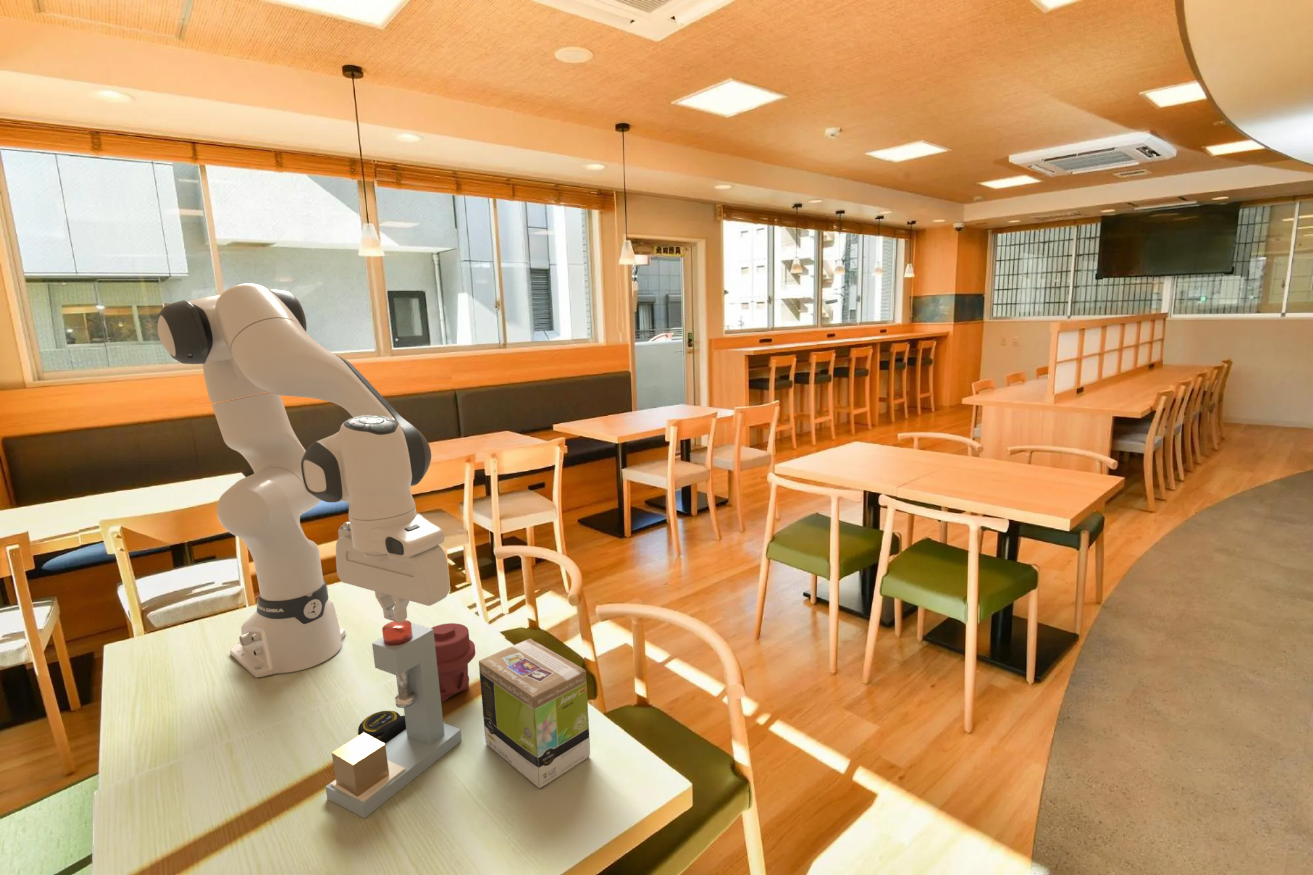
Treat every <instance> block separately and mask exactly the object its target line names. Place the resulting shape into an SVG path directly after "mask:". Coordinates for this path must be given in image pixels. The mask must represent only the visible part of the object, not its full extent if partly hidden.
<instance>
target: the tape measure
mask: <svg viewBox="0 0 1313 875" xmlns="http://www.w3.org/2000/svg"><path fill="white" fill-rule="evenodd" d="M404 730H406V722H405V714H403V715H400V714H399V713H398V712H397V711H393V710H381V711H377V712H374V713H372V714H370V715H368V716H367V717H366V718H365V719H364V720H362V721H361V723H360V724H359V726H358V729H357V736H359V735H361V734H362V733H366V734H368V735H370V736H372V737H373V738H375V739H377V740H379V741H381V742H383V743H385V744H386V743H387V742H389V741H390V740H392V739H393V738H394V737H396V736H397V735H399V734H400V733H401V732H403V731H404Z"/></svg>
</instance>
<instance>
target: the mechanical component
mask: <svg viewBox="0 0 1313 875" xmlns="http://www.w3.org/2000/svg"><path fill="white" fill-rule="evenodd" d="M430 628H431V629H433V631H434V640H435V650H436V659H437V668H438V678H439V687H440V696H441V703H444V702H446V701H447V700H448V699H449V698H451V697H452V696H454V695H456V694H458V693H460V692H463V691H466V690H468V689H469V688H470V685H469V684H470V683H469V682H470V676H469V663H470V662H471V661H472V660H473V659H474V658H475V656H476V644H475V642H474V641H472V640H471V639H470V630H469V629H468V627H467V626H466V625H464V624H461V623H455V622H454V623H449V622H448V623H442V624H437V625H434V626H432V627H430Z"/></svg>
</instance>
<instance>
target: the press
mask: <svg viewBox="0 0 1313 875" xmlns="http://www.w3.org/2000/svg"><path fill="white" fill-rule="evenodd" d="M411 626H412V635H413V637H412V639H411V640H410V641H408V642H406V643H404V644H401V645H396V646H389V645H386V644H384V640H383V636H382V637H380V638H379V639H377V640H375V641H373V642H372V643H371V644H372V645H371V646H372V647H371V648H372V654H373V660H374V668H375V669H378V670H379V671H382V672H385V673H388V674H392V675H394V676H395V677H396V676H400V675H401V674H403V673H405V672H406V671H408V670H409V678H410V687H411V691H413V692H414V693H415V699H416V701H415V703H414V704H413V705H411V706H409V707H406V708H403V712H404V713H403V715H404V716H405V722H406V730H404V731H403V732H401V733H400V734H399V735H397V736H396V737H394V738H393V739H392V740H390V741H389V742H387V743H386V744H385V745H386V753H387V761H388V769H389V775H388V776H386V777H385V778H384V779H382V780H381V781H379V782H378V783H377V784H375V785H374V786H372V787H371V788H369V789H368V790H367V791H365V792H364V793H362V794H361V795H359V796H358V797H357V796H355V795H354V794H352V793H350V792H349V791H347V790H346V789H344V788H343V787H341V786H339V785H338V784H336V779H333V781H331V782H330V783H328V784H326V786H325V787H324V788H325V791H326V792H325V793H326V798H327V799H328V801H331V802H332V803H335V804H336V805H338V806H340V807H342V808H344V809H345V810H348V811H349V812H352V813H353V814H355V815H357V816H359V817H361V818H363V819H366V818H367V817H368V816H370V815H371V814H372V813H374V811H376V810H377V809H378V808H380V807H381V806H382V805H384V804H385V803H386V802H387V801H388V800H390V799H391V798H392V797H394V796H395V795H396V794H397V793H398V792H400V791H401V790H402V789H404V788H405V787H406V786H407V785H409V783H411V782H412V781H413V780H415V779H416V778H417V777H418V776H420V775H421V774H422V773H423V772H425V771H426V770H427V769H429V768H430V767H431V766H432V765H433V764H434V763H436V762H437V761H438V760H440V759H441V758H442V757H444V756H445V755H446V754H447V753H448V752H450V751H451V750H452V749H454V748H455V747H456V746H457V745H459V743H461V742H462V741H463V738H462V736H463V735H462V730H461V728H458V727H455V726H454V725H451V724H448V723H446V722H444V718H443V717H444V715H443V707H442V702H441V696H440V687H439V678H438V668H437V659H436V650H435V640H434V631H433V629H431V628H432V627H428V626H424V625H420V624H418V623H415V622H411Z"/></svg>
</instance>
